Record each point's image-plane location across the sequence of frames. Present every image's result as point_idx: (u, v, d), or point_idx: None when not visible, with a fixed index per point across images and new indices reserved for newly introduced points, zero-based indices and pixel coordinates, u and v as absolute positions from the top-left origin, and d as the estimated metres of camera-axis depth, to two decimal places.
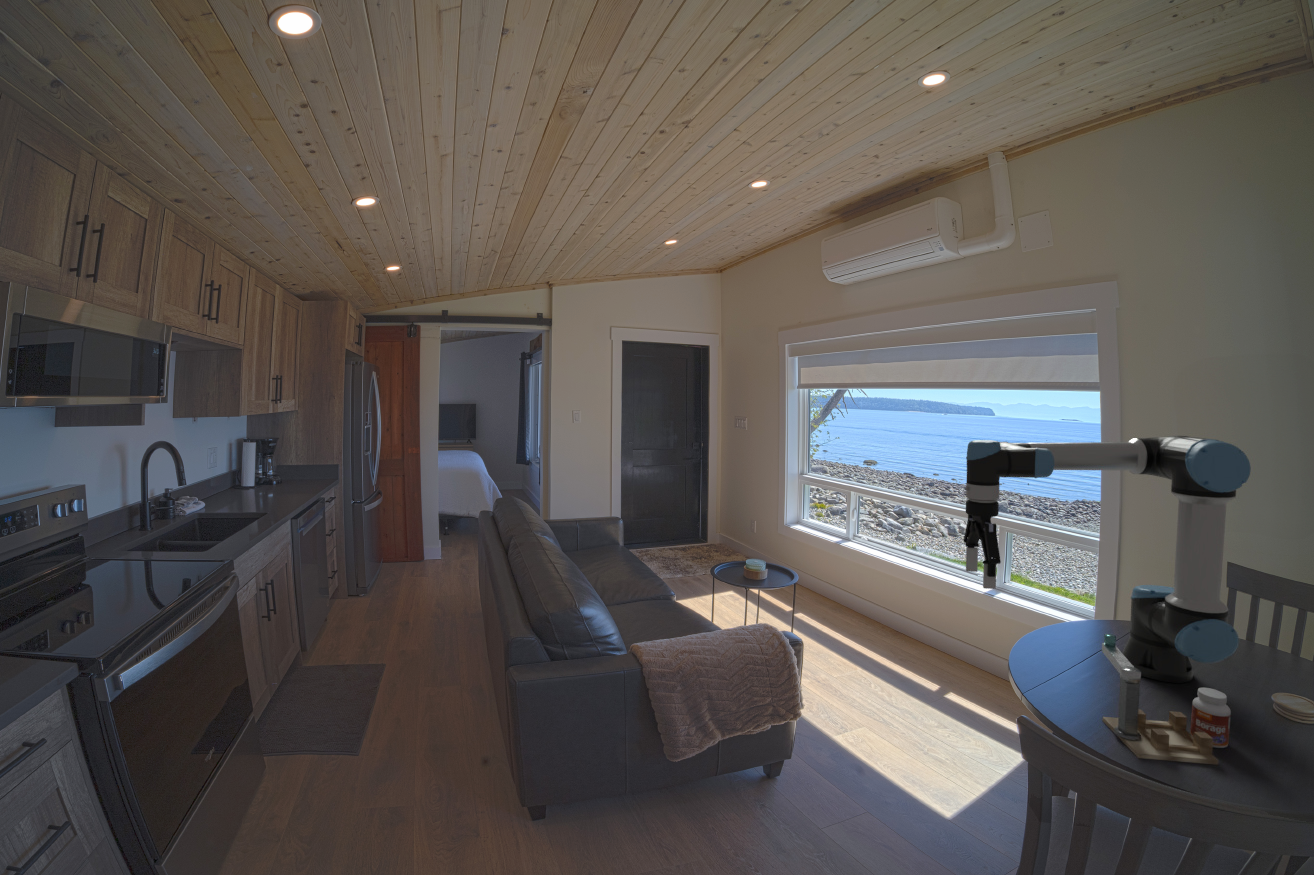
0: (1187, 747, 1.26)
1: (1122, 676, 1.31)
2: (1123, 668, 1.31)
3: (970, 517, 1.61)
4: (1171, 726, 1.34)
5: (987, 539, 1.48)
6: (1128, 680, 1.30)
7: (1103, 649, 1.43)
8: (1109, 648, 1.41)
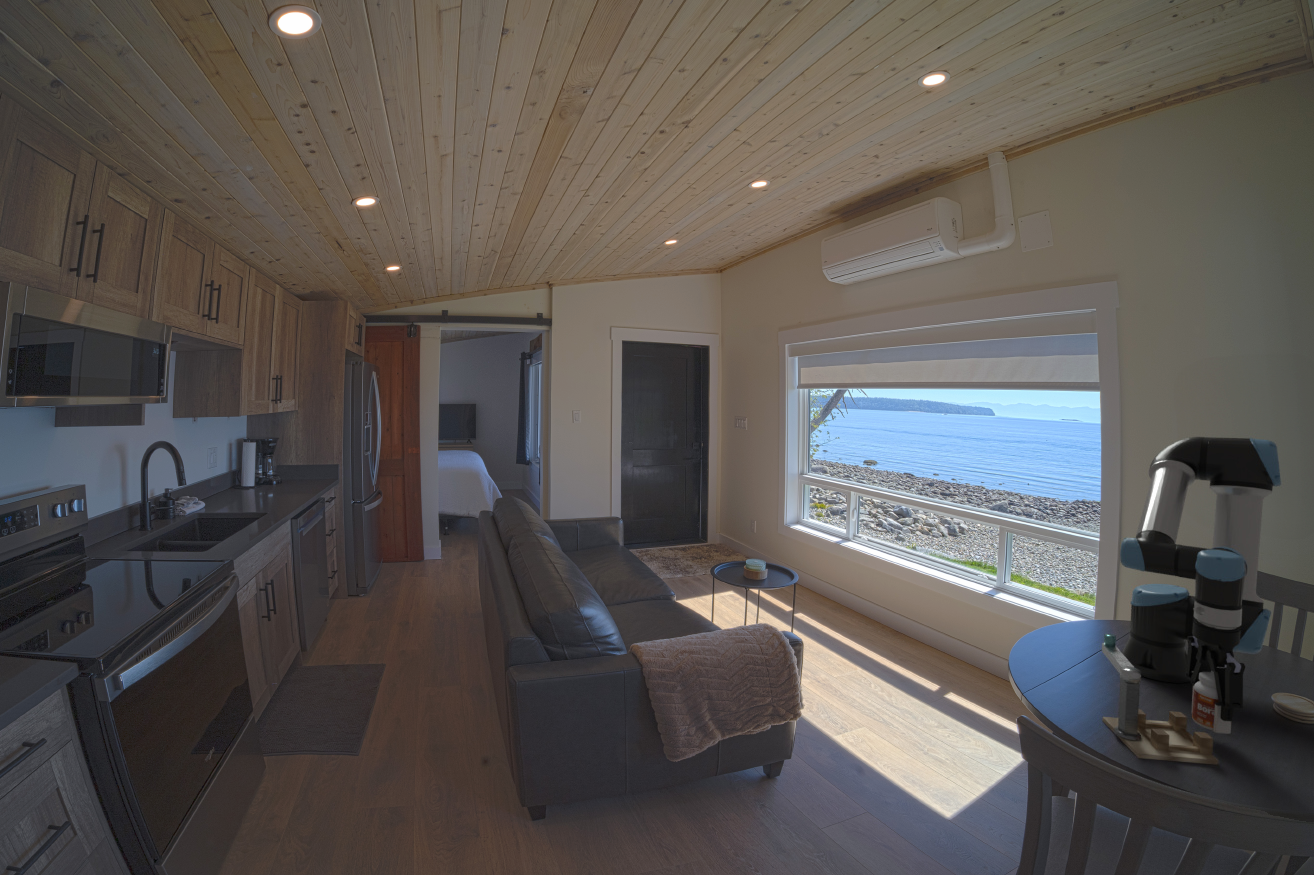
0: (1187, 747, 1.26)
1: (1122, 676, 1.31)
2: (1123, 668, 1.31)
3: (1192, 641, 1.35)
4: (1171, 726, 1.34)
5: (1229, 681, 1.24)
6: (1128, 680, 1.30)
7: (1103, 649, 1.43)
8: (1109, 648, 1.41)
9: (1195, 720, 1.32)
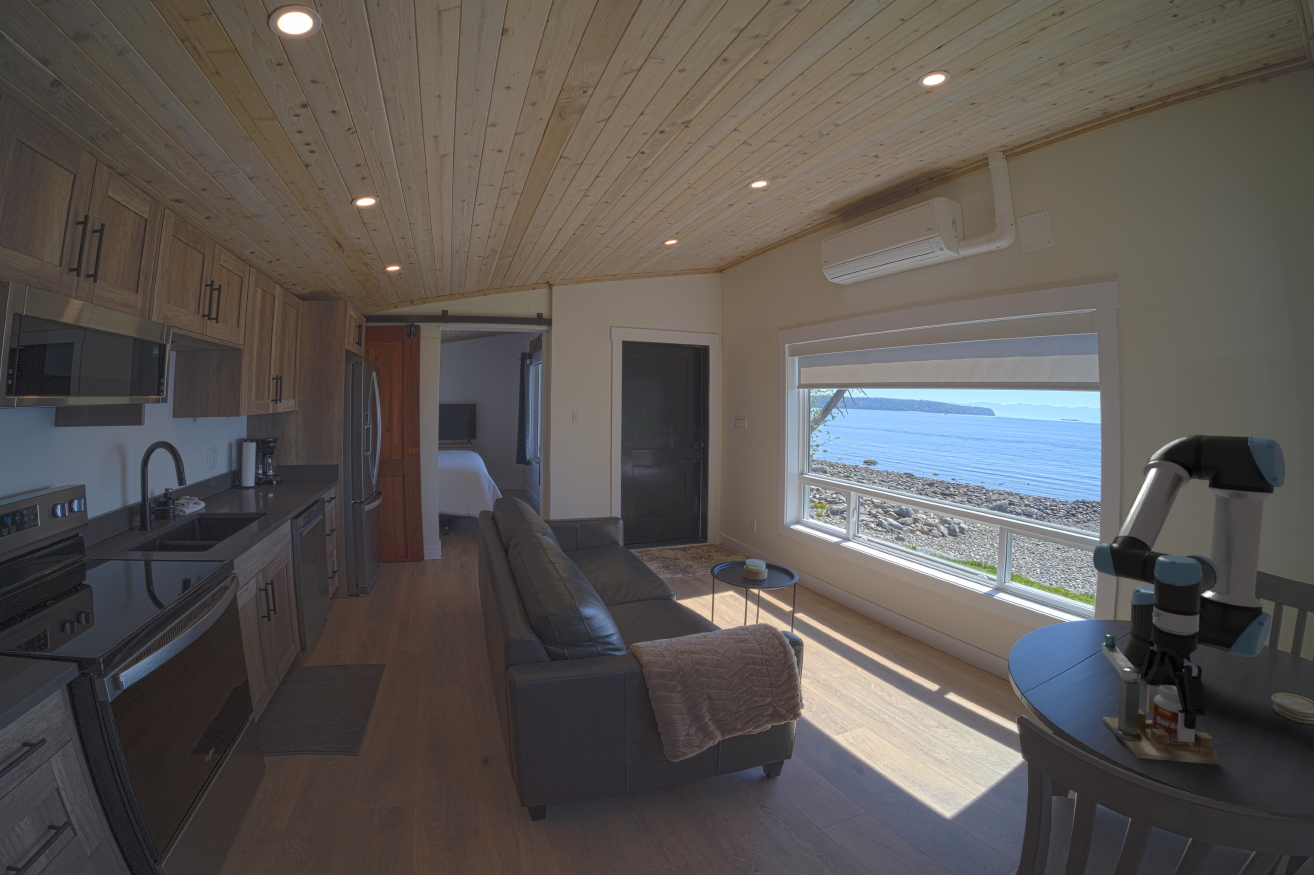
0: (1187, 747, 1.26)
1: (1122, 676, 1.31)
2: (1123, 668, 1.31)
3: (1152, 645, 1.35)
4: None
5: (1189, 685, 1.23)
6: (1128, 680, 1.30)
7: (1103, 649, 1.43)
8: (1109, 648, 1.41)
9: None
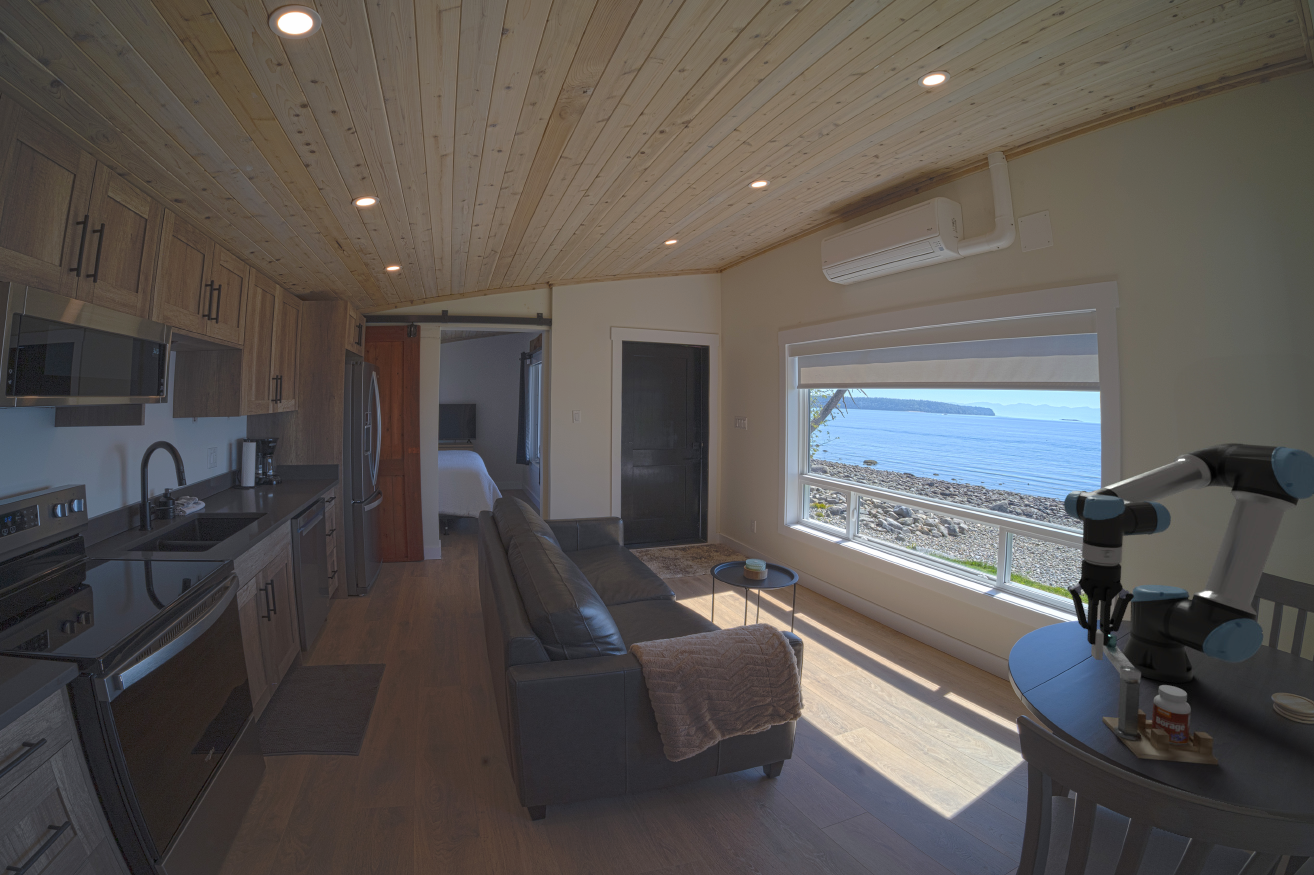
0: (1187, 747, 1.26)
1: (1122, 676, 1.31)
2: (1123, 668, 1.31)
3: (1077, 592, 1.42)
4: None
5: (1125, 609, 1.39)
6: (1128, 680, 1.30)
7: (1104, 649, 1.43)
8: (1110, 648, 1.41)
9: None
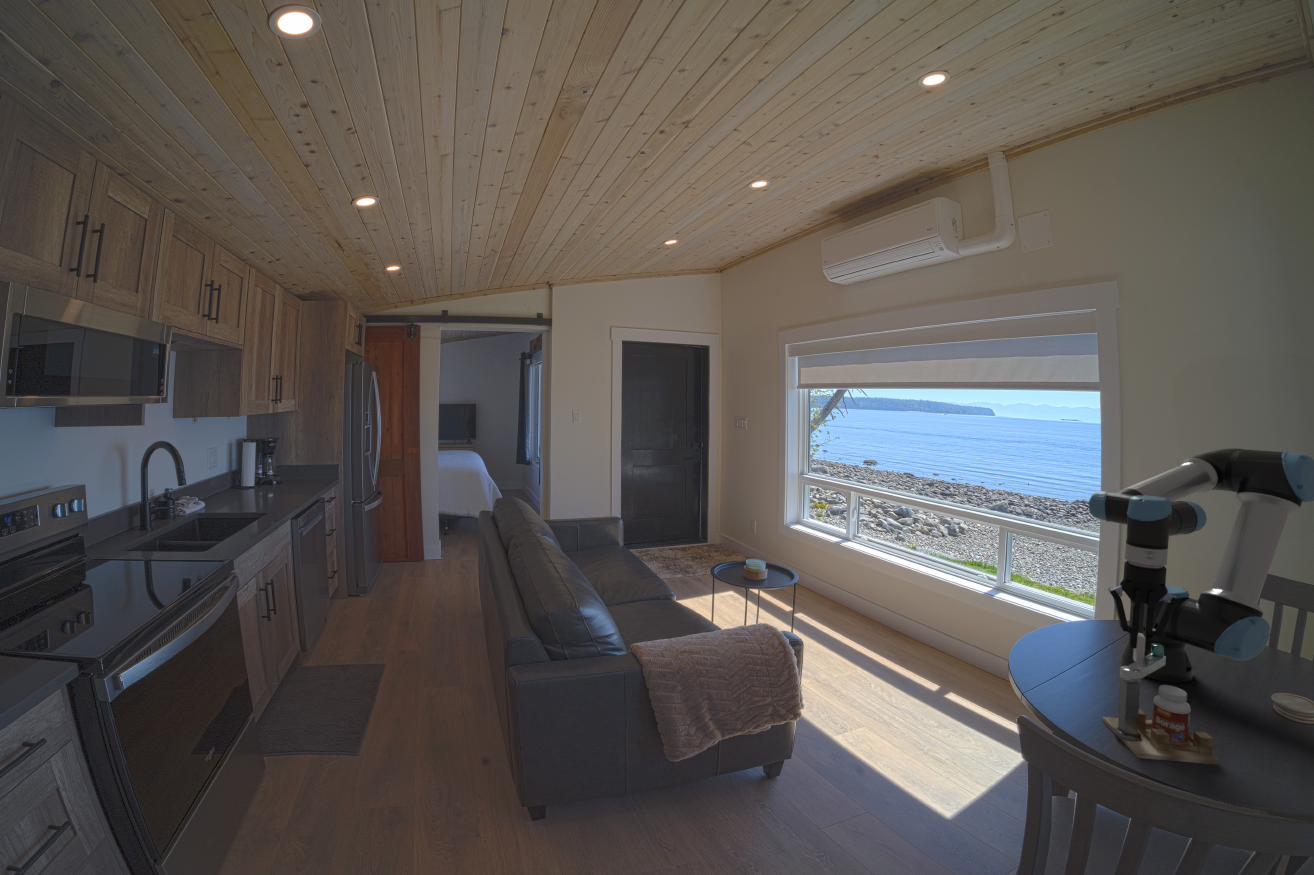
0: (1187, 747, 1.26)
1: (1120, 673, 1.32)
2: (1124, 667, 1.32)
3: (1118, 593, 1.39)
4: None
5: (1169, 613, 1.35)
6: (1122, 678, 1.31)
7: None
8: (1150, 656, 1.37)
9: None
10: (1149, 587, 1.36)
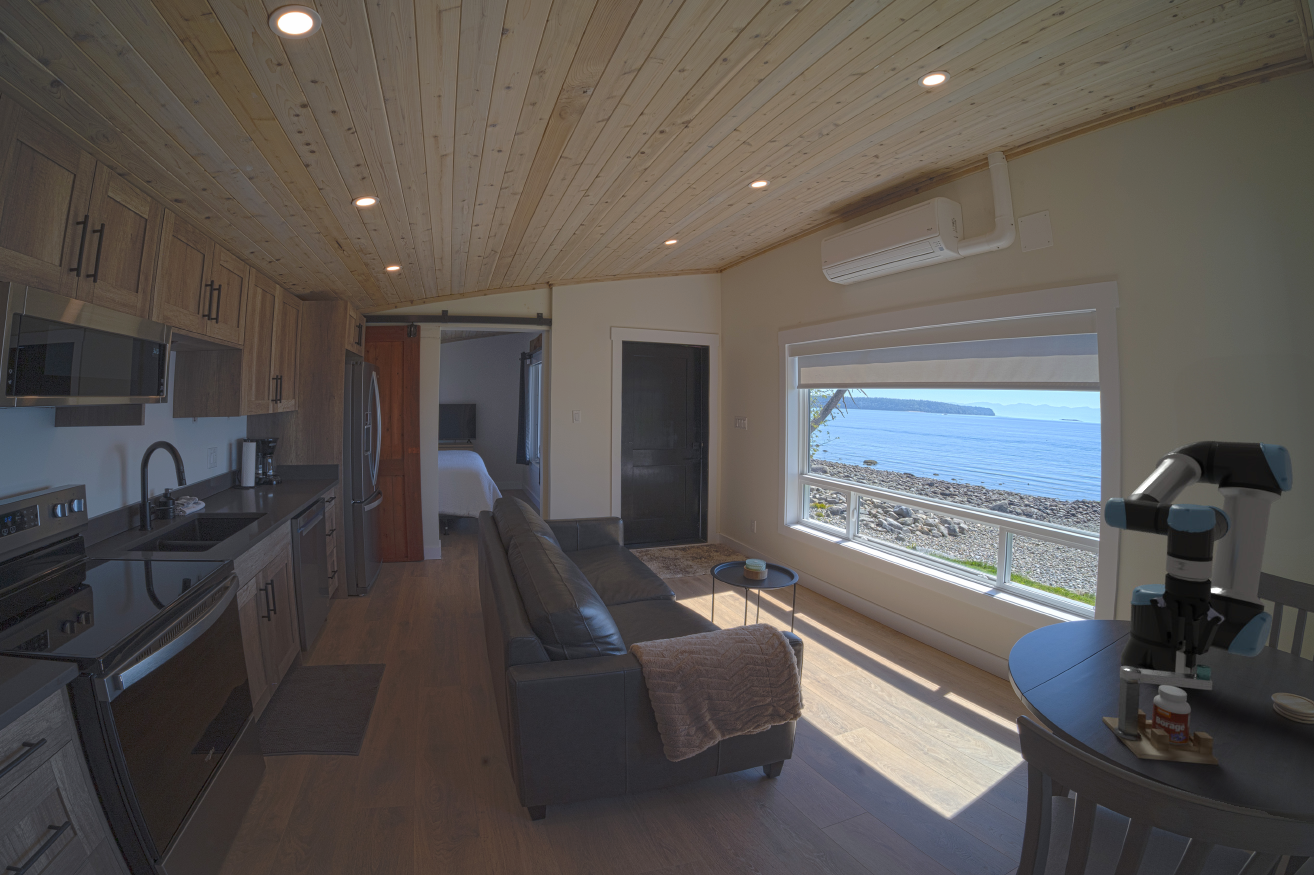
0: (1187, 747, 1.26)
1: None
2: (1129, 667, 1.32)
3: (1157, 603, 1.34)
4: None
5: (1210, 632, 1.26)
6: None
7: None
8: (1190, 675, 1.28)
9: None
10: (1188, 601, 1.29)
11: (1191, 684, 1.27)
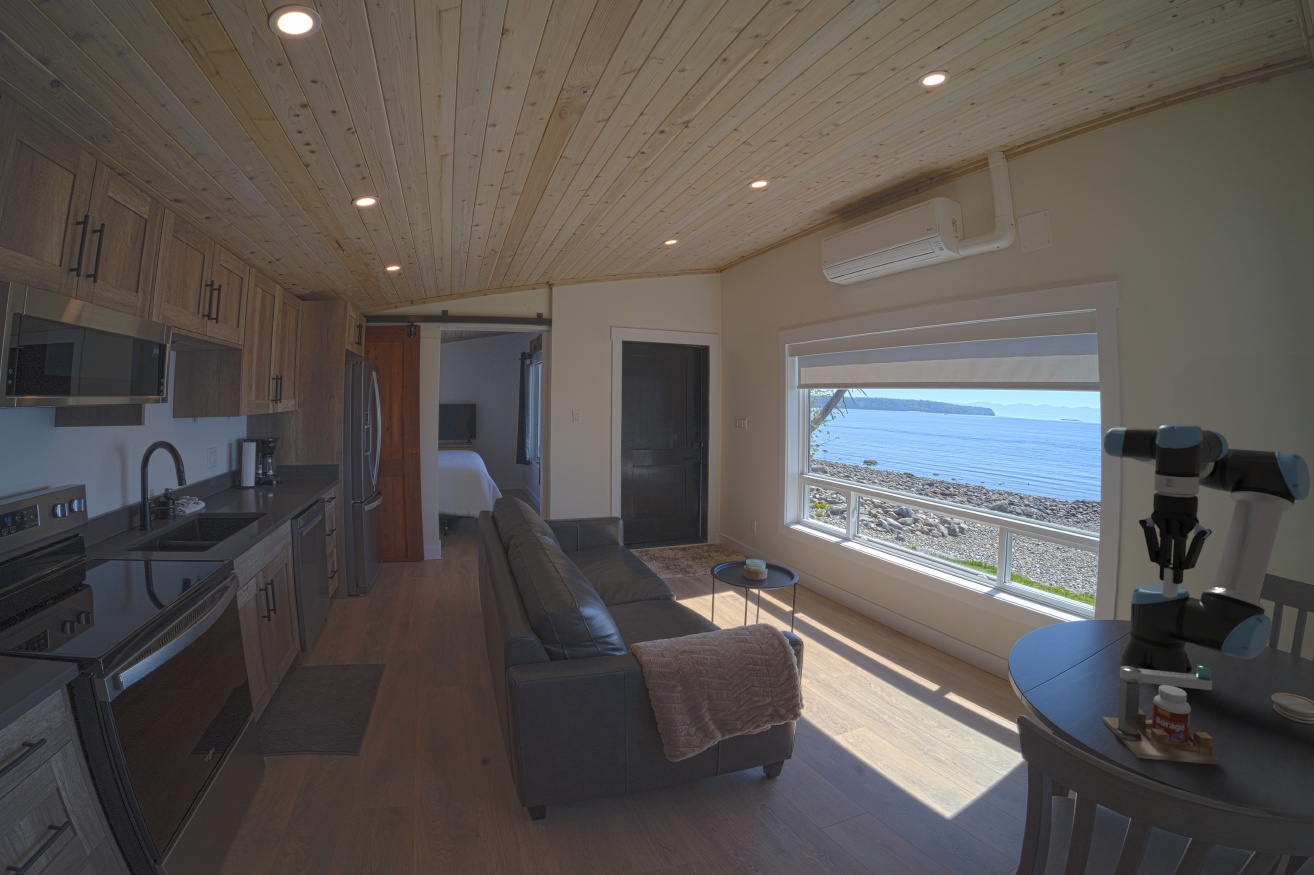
0: (1187, 747, 1.26)
1: None
2: (1129, 667, 1.32)
3: (1146, 523, 1.38)
4: None
5: (1196, 546, 1.29)
6: None
7: None
8: (1190, 675, 1.28)
9: None
10: (1175, 518, 1.32)
11: (1191, 684, 1.27)
